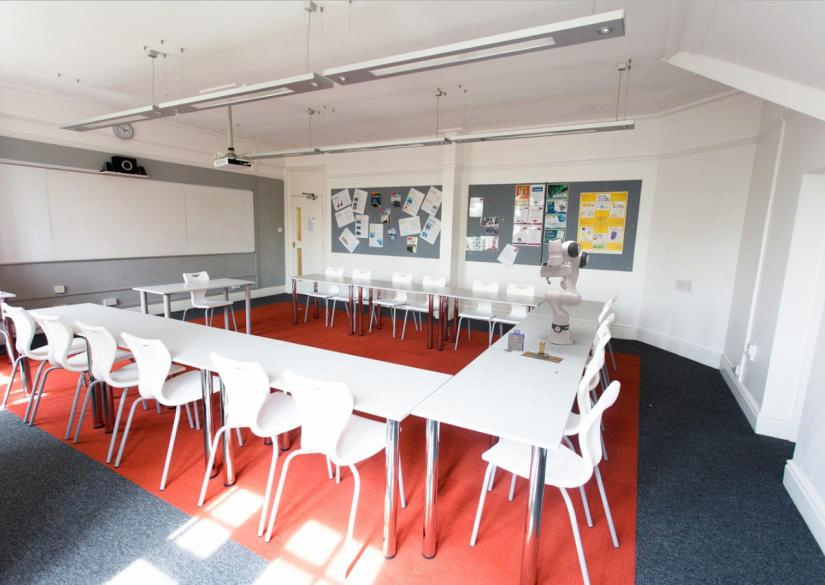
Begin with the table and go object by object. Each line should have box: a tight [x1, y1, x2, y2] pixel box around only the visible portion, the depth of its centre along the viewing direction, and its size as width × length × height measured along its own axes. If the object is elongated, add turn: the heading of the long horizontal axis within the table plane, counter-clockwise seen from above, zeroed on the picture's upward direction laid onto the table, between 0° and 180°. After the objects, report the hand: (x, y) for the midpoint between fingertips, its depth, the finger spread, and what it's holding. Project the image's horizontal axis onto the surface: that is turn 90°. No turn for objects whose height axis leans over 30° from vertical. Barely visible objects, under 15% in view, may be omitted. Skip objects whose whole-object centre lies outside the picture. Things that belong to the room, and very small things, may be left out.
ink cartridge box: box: [506, 329, 525, 352], centre depth 271 cm, size 10×6×14 cm, turn 63°
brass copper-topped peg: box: [538, 341, 546, 355], centre depth 254 cm, size 3×3×10 cm
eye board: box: [520, 350, 565, 364], centre depth 257 cm, size 12×24×4 cm, turn 54°
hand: (556, 284), depth 263 cm, fingers open, 8 cm apart
